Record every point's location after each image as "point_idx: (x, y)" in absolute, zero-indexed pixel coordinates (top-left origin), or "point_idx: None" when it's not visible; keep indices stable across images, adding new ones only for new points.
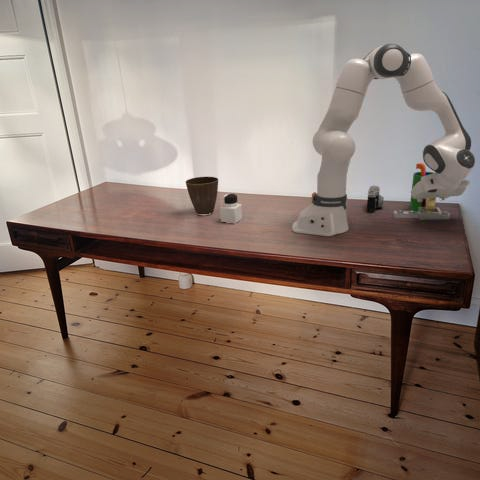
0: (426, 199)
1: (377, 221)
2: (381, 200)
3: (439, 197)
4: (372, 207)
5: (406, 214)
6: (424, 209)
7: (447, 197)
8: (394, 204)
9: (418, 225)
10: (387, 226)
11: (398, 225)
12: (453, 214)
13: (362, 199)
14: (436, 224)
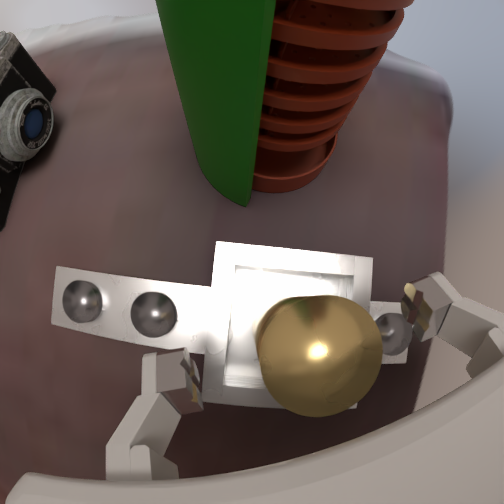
0: (257, 348)
1: (3, 377)
2: (12, 143)
3: (408, 285)
4: None
5: (120, 338)
6: (260, 267)
7: (465, 347)
8: (137, 72)
9: (184, 471)
10: (43, 454)
11: (84, 455)
12: (431, 255)
13: (45, 44)
14: (292, 456)
